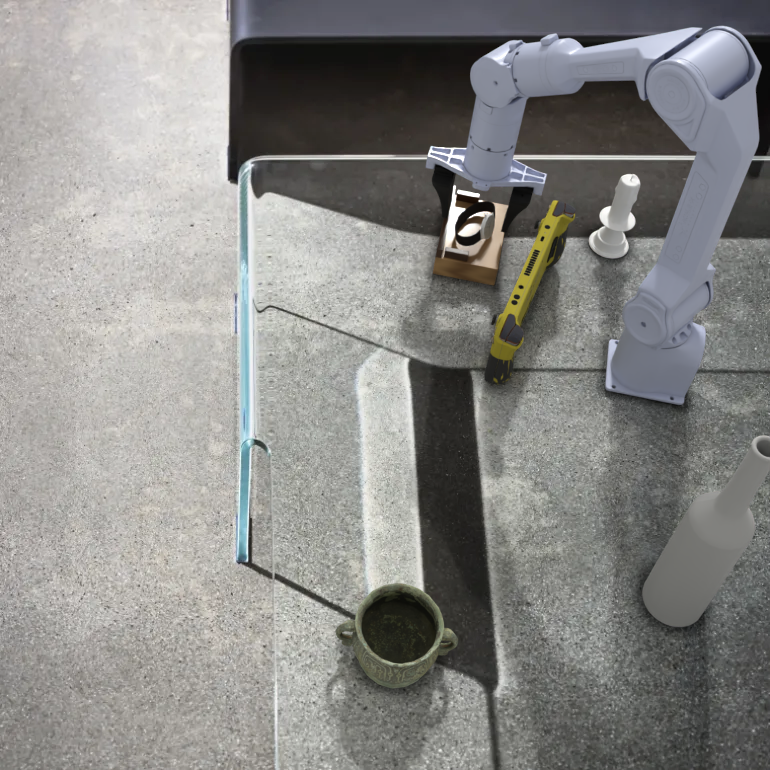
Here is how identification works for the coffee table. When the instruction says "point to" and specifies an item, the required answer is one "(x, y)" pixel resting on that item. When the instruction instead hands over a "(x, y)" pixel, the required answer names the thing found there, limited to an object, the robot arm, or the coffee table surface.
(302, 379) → the coffee table surface
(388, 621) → the vessel
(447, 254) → the shelf
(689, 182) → the robot arm
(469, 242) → the watch
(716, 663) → the coffee table surface
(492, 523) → the coffee table surface
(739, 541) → the bottle
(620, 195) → the candle
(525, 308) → the yellow power tool
